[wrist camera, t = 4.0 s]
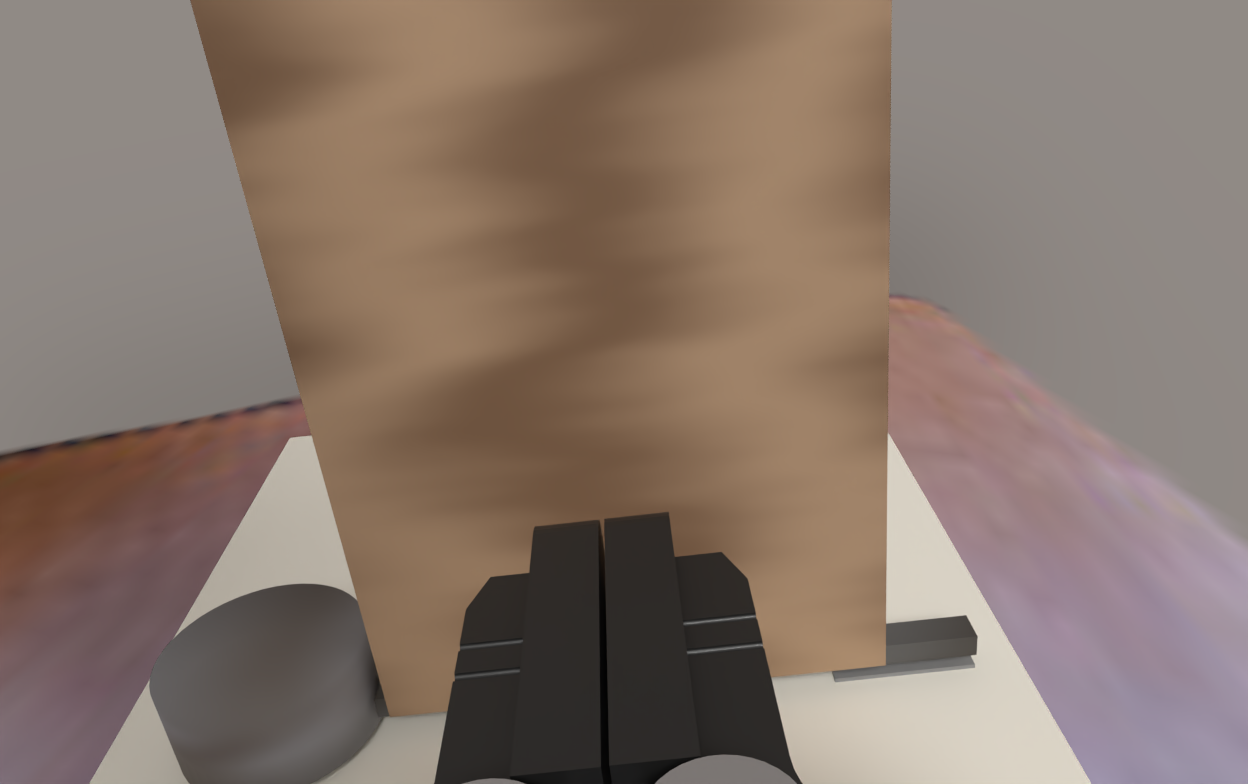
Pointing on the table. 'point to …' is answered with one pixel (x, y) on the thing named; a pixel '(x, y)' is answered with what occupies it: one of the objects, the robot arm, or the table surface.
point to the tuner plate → (808, 703)
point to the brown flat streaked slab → (554, 330)
